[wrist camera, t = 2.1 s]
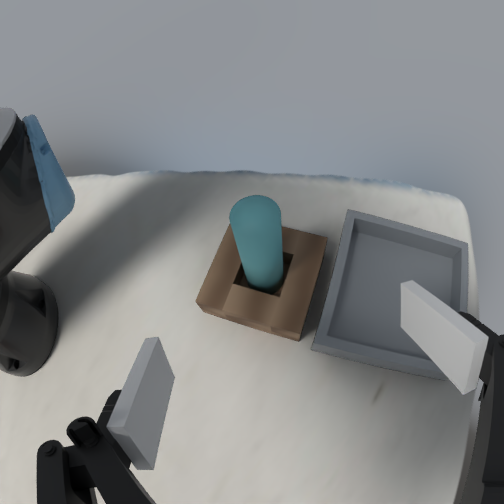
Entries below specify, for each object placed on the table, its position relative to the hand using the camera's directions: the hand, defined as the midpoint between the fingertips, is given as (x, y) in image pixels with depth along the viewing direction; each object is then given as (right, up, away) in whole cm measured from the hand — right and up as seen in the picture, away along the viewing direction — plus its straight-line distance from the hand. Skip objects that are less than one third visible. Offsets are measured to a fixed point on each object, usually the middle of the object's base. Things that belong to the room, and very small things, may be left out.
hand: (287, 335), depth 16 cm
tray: (+14, -1, +17) cm, 22 cm away
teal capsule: (0, +1, +19) cm, 19 cm away
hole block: (0, +1, +20) cm, 20 cm away
